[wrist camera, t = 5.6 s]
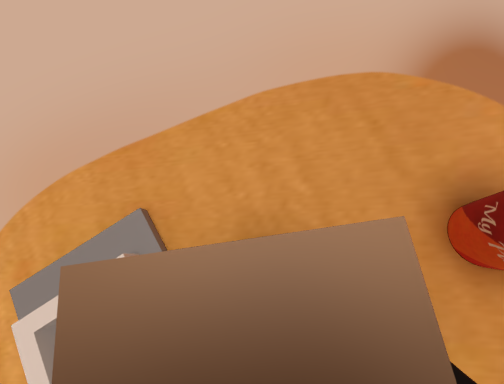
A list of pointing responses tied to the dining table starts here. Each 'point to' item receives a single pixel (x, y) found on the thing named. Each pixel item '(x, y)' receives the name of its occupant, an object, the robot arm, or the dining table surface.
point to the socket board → (47, 289)
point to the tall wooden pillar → (255, 313)
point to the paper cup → (480, 231)
